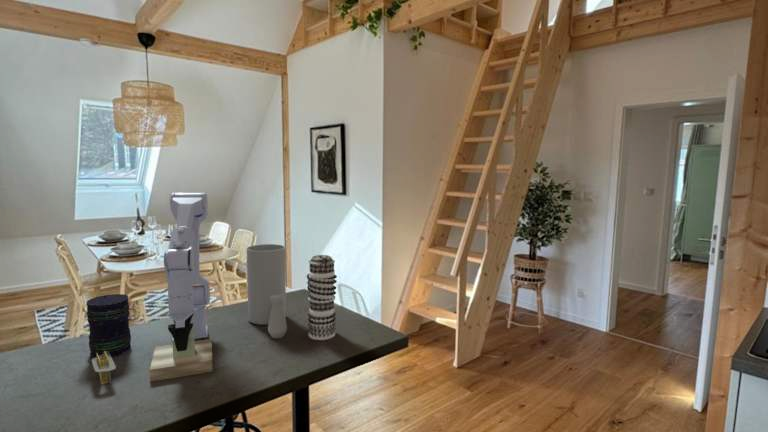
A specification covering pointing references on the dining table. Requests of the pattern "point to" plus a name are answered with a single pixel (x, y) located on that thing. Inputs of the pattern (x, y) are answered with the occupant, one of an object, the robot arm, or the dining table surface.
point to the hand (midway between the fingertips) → (182, 344)
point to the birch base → (181, 362)
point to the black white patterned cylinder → (321, 297)
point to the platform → (104, 366)
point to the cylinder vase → (264, 280)
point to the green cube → (190, 347)
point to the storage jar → (109, 325)
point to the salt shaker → (277, 317)
